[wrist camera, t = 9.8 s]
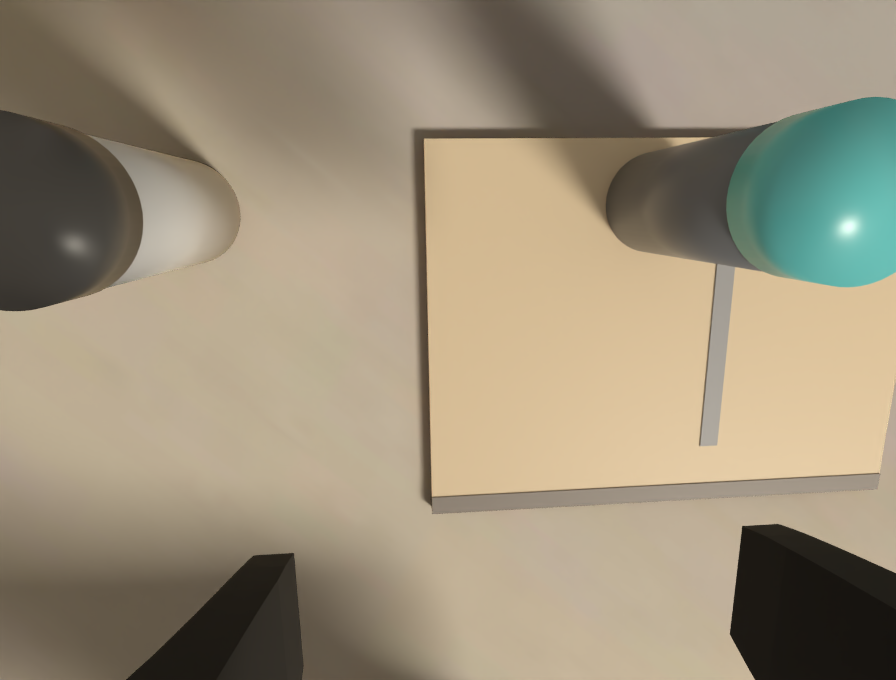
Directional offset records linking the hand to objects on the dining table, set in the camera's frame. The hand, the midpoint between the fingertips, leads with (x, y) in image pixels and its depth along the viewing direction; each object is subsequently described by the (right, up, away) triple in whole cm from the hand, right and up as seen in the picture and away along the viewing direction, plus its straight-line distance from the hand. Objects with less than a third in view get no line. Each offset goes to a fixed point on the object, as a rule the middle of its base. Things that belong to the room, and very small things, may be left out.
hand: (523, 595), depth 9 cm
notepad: (+6, +4, +10) cm, 12 cm away
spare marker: (-9, +8, +8) cm, 14 cm away
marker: (+5, +8, +8) cm, 13 cm away
